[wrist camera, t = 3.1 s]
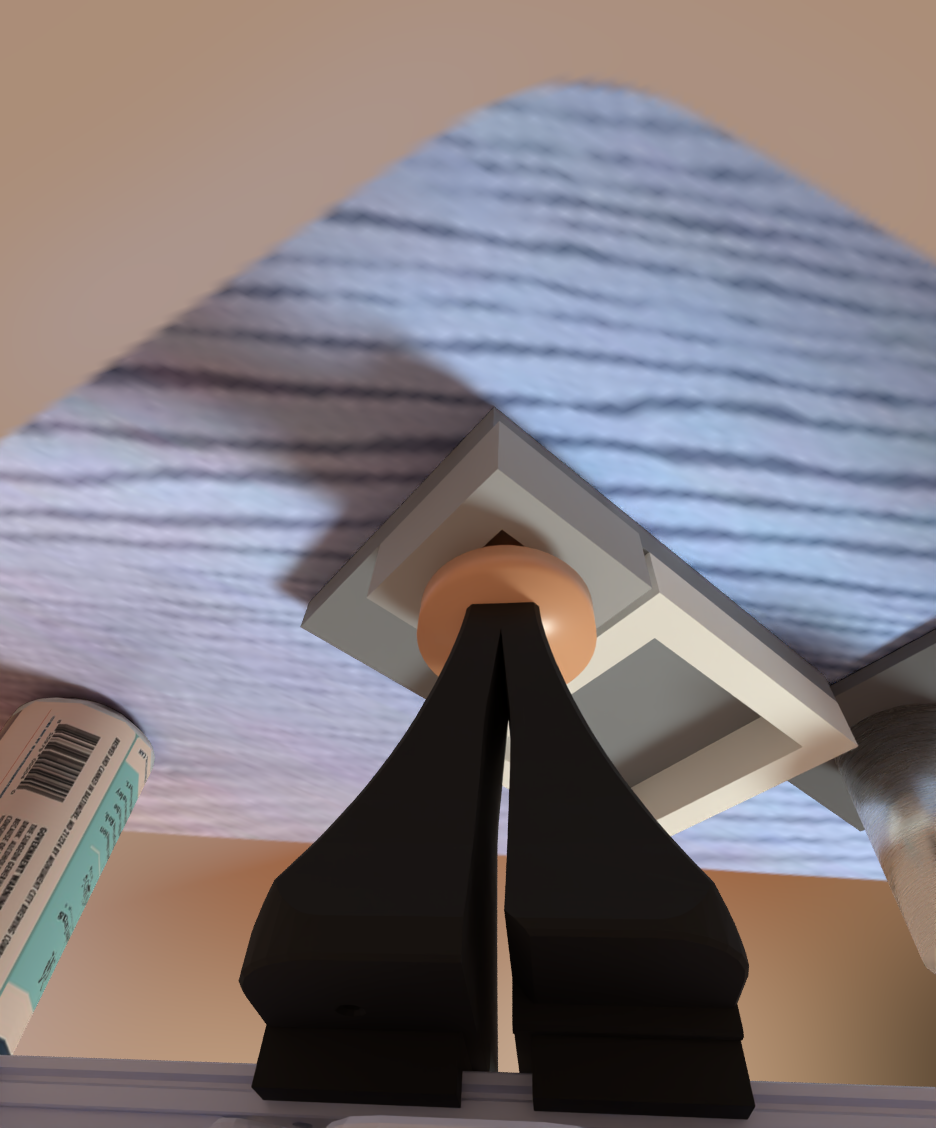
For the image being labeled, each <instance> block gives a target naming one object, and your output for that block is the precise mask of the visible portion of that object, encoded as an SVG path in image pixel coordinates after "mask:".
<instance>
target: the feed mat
mask: <svg viewBox="0 0 936 1128" xmlns="http://www.w3.org/2000/svg"><path fill="white" fill-rule="evenodd" d="M830 688H831V690H832V692H833V694H834V697H835V699H836V701H837V703H838V705H839V707H840V709H841V711H842V713H843V715H844V717H845V719H846V722H847V724H848V726H849V728H851V727H852V726H854V725H855V724H856V723H858V722H859V721H861V720H863V719H865V718H867V717H869V716H871V715H873V714H875V713H878V712H881V711H883V710H887V709H890V708H894V707H898V706H903V705H910V704H923V703H924V704H936V629H935V630H933V631H932V632H930V633H928V634H926V635H924V636H922V637H920V638H919V639H917V640H915V641H913V642H911V643H909V644H907V645H906V646H904V647H902V648H900V649H898V650H896V651H895V652H893V653H891V654H889V655H887V656H885V657H883V658H882V659H880V660H878V661H876V662H874V663H872V664H870V665H869V666H867V667H865V668H863V669H861V670H859V671H857V672H856V673H854V674H852V675H850V676H848V677H846V678H845V679H843V680H841V681H839V682H837V683H835V684H833V685H832V686H830ZM787 781H789V782H790V783H791V784H793V785H794V786H796V787H797V788H799V789H800V790H802V791H803V792H804V793H806V794H807V795H809V796H810V797H812V798H813V799H815V800H816V801H817V802H819V803H820V804H822V805H823V806H825V807H826V808H828V809H829V810H830V811H832V812H833V813H835V814H836V815H838V816H839V817H841V818H842V819H843V820H845V821H846V822H848V823H849V824H851V825H852V826H854V827H855V828H856V829H858V830H859V831H863V830H865V828H864V826H863V824H862V822H861V819H860V817H859V815H858V812H857V810H856V808H855V806H854V803H853V801H852V799H851V797H850V794H849V792H848V790H847V787H846V785H845V783H844V781H843V778H842V776H841V774H840V771H839V769H838V767H837V765H836V762H835V759H834V758H833V759H831V760H829V761H827V762H825V763H822V764H820V765H818V766H816V767H814V768H812V769H810V770H808V771H806V772H804V773H802V774H800V775H797V776H795V777H793V778H791V779H789V780H787Z"/></svg>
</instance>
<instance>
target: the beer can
mask: <svg viewBox="0 0 936 1128" xmlns="http://www.w3.org/2000/svg"><path fill="white" fill-rule="evenodd" d="M154 759H155V756H154V751H153V748H152V746H151V743H150V742H149V740H148V739H147V738H146V736H145V735H144V734H143V732H141V731H140V730H139V729H138V728H137V727H136V726H135V725H134V724H133V723H132V722H131V721H130V720H128V719H127V718H126V717H125V716H123V715H122V714H121V713H119V712H117V711H115V710H113V709H111V708H109V707H107V706H104V705H102V704H99V703H96V702H92V701H89V700H83V699H74V698H66V699H65V698H57V697H55V698H42V699H37V700H34V701H31V702H28V703H26V704H24V705H22V706H21V707H19V708H18V709H17V710H16V711H15V712H14V714H13V715H12V716H11V717H10V719H9V720H8V721H7V723H6V724H5V726H4V727H3V728H2V730H1V731H0V1055H13V1053H14V1051H15V1049H16V1047H17V1045H18V1043H19V1041H20V1039H21V1037H22V1035H23V1032H24V1030H25V1029H26V1027H27V1024H28V1022H29V1020H30V1018H31V1016H32V1014H33V1012H34V1010H35V1008H36V1006H37V1004H38V1002H39V1000H40V998H41V996H42V994H43V992H44V990H45V988H46V986H47V984H48V981H49V979H50V977H51V975H52V973H53V971H54V969H55V967H56V965H57V963H58V961H59V959H60V957H61V955H62V953H63V951H64V949H65V947H66V945H67V942H68V940H69V938H70V936H71V934H72V932H73V930H74V928H75V926H76V924H77V922H78V920H79V918H80V916H81V914H82V912H83V910H84V908H85V906H86V904H87V902H88V899H89V898H90V895H91V893H92V891H93V889H94V887H95V885H96V883H97V881H98V879H99V877H100V875H101V873H102V871H103V869H104V867H105V864H106V863H107V861H108V859H109V856H110V855H111V852H112V850H113V848H114V846H115V844H116V842H117V840H118V838H119V836H120V834H121V832H122V830H123V828H124V826H125V824H126V822H127V820H128V818H129V816H130V814H131V812H132V809H133V807H134V805H135V803H136V801H137V799H138V797H139V795H140V793H141V791H142V789H143V787H144V785H145V783H146V781H147V779H148V777H149V775H150V773H151V771H152V769H153V766H154Z"/></svg>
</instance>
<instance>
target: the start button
mask: <svg viewBox="0 0 936 1128" xmlns="http://www.w3.org/2000/svg"><path fill="white" fill-rule="evenodd" d="M518 602H534V603H536V604H537V605H538V606H539V608H540V615H541V619H542V623H543V627H544V631H545V634H546V637H547V640H548V642H549V645H550V648H551V651H552V653H553V656H554V658H555V660H556V663H557V665H558V667H559V669H560V672H561V674H562V676H563V678H564V680H565V682H566V684H568V683H570V682H571V681H572V680H573V679H575V678H576V677H577V676H578V675H579V674H580V673H581V672H582V671H583V670H584V669H585V667H586V666H587V665H588V663H589V662H590V660H591V658H592V656H593V654H594V650H595V647H596V640H597V634H596V624H595V617H594V609H593V602H592V598H591V594H590V592H589V590H588V587H587V585H586V584H585V582H584V581H583V579H582V578H581V577H580V575H579V574H578V573H577V572H576V571H575V570H574V569H573V568H572V567H570V566H569V565H568V564H567V563H565V562H564V561H562V560H561V559H559V558H557V557H555V556H553V555H551V554H549V553H546V552H543V551H540V550H538V549H533V548H529V547H525V546H524V545H522V544H521V543H520V542H518V541H517V540H516V539H514V538H513V537H512V536H510V535H509V534H507V533H506V532H505V531H503V530H501V531H500V532H499V533H498V534H497V535H495V536H494V537H493V538H492V539H491V540H490V541H489V542H488V543H487V544H486V545H485V546H483V547H482V548H478V549H475V550H472V551H468V552H466V553H464V554H461V555H459V556H457V557H455V558H453V559H452V560H450V561H449V562H447V563H446V564H445V565H443V566H442V567H441V568H440V569H439V570H438V571H437V572H436V573H435V574H434V575H433V576H432V578H431V579H430V581H429V582H428V584H427V586H426V588H425V590H424V593H423V596H422V600H421V607H420V613H419V619H418V625H417V643H418V647H419V650H420V653H421V655H422V657H423V659H424V661H425V662H426V664H427V665H428V667H429V668H430V669H431V670H432V671H433V672H434V673H435V674H436V675H437V676H438V677H439V675H440V673H441V671H442V669H443V667H444V665H445V663H446V661H447V659H448V657H449V654H450V652H451V650H452V648H453V645H454V643H455V641H456V638H457V636H458V633H459V631H460V628H461V625H462V622H463V619H464V616H465V613H466V609H467V608H468V607H469V606H470V605H471V604H487V603H518Z"/></svg>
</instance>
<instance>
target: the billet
mask: <svg viewBox="0 0 936 1128" xmlns="http://www.w3.org/2000/svg"><path fill="white" fill-rule="evenodd" d="M850 730H851V732H852V734H853V736H854V738H855V740H856V742H857V744H858V747H856V748H854V749H852V750H850V751H848V752H845V753H843V754H841V755H839V756H837V757H835V758H834V759H835V762H836V765H837V767H838V769H839V771H840V774H841V776H842V778H843V781H844V783H845V785H846V787H847V790H848V792H849V794H850V797H851V799H852V801H853V803H854V806H855V808H856V810H857V812H858V815H859V817H860V819H861V822H862V824H863V826H864V828H865V831H866V833H867V835H868V838H869V840H870V842H871V844H872V847H873V849H874V851H875V853H876V856H877V858H878V860H879V863H880V865H881V867H882V869H883V872H884V874H885V876H886V879H887V881H888V883H889V885H890V887H891V890H892V892H893V894H894V897H895V899H896V901H897V904H898V906H899V908H900V910H901V913H902V915H903V917H904V919H905V922H906V924H907V926H908V929H909V931H910V933H911V936H912V938H913V940H914V942H915V945H916V947H917V949H918V951H919V954H920V956H921V958H922V961H923V963H924V965H925V966H926V967H927V969H928V970H930V971H931V972H933V973H935V974H936V704H924V703H923V704H910V705H903V706H898V707H894V708H890V709H887V710H883V711H881V712H878V713H875V714H873V715H871V716H869V717H867V718H865V719H863V720H861V721H859V722H858V723H856V724H855V725H854V726H852V727H851V728H850Z"/></svg>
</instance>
